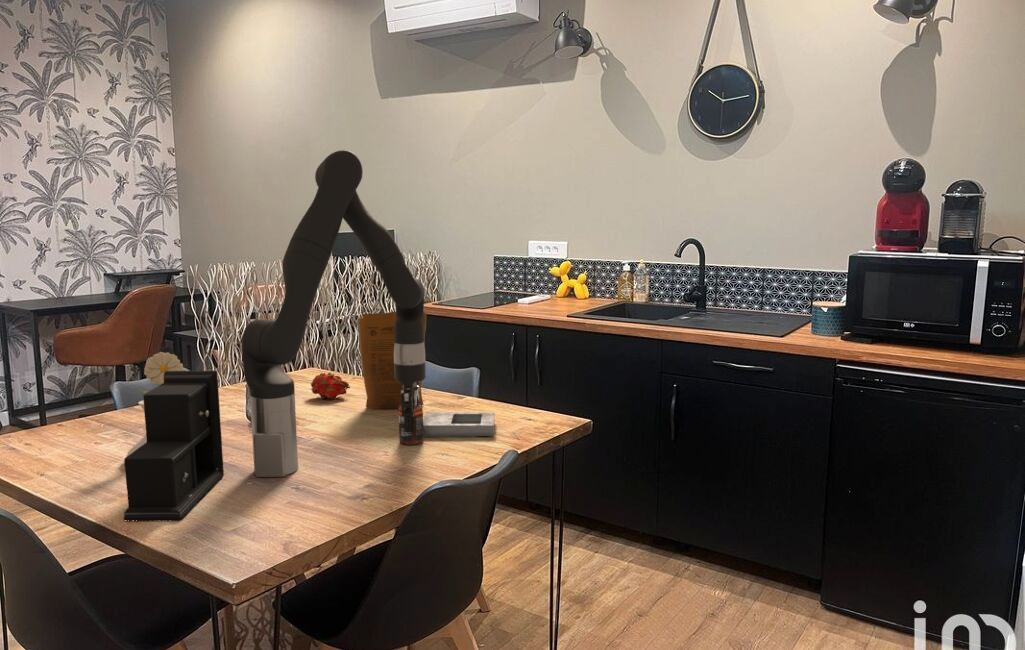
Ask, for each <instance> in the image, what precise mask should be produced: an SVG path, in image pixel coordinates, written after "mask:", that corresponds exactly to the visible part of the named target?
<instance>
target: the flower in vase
mask: <svg viewBox="0 0 1025 650" xmlns="http://www.w3.org/2000/svg"><path fill="white" fill-rule="evenodd" d="M183 369H184V365H183V363H181V360H180V359H178V356H177V355H176V354H174V353H172V354H171V353H170V352H162V351H159V352H158V353H155V354H153V356H150V357H148V358H147V360H146V363H145V366H144V369H143V370H144V372H143V374H144V375H145V376H146V379H148V380H149V382H150V384H151V383H152V384H154V385H157V386H159V385H161V384H163V383H164V373H165V371H183ZM137 390H138V391H139V392H142V393H143V394H146V393H147V392H149V391H147V390H142V389H141V388H139V387H137ZM138 405H139V406H140V407H141V408H142V411H144V399H143V400H140V401H138ZM146 442H147V437H146V434H144V436H142V438H140V440H139V441H138V442H136V443H135V444H134V445H133V446H132V447H131V448H130V449H129V450H128V452H127V453H126V457H127V456H129V455H130V454H131V453H133V452H134V451H135V450H137V449H138V448H139V447H141V446H142V445H144V444H145V443H146Z"/></svg>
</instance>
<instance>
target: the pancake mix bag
mask: <svg viewBox="0 0 1025 650" xmlns="http://www.w3.org/2000/svg"><path fill="white" fill-rule="evenodd" d="M395 321H396V311H391V312H390V311H389V312H383V313H381V312H378V313H377V312H376V313H362V317H358V318H357V331H358V347H359V348H358V349H359V350H358V351H359V354H360V363H361V367H362V368H361V369H362V373H363V374H362V375H363V381H364V383H363V384H364V388H365V393H366V403H365V407H366V408H368V409H371V408H373V409H372V410H377V409H379V410H395V408H399V407H400V406H401V405H402V401H401V389H403V386H404V383H403V382H398V381H396V380H395V378H394V345H395V337H394V326H395ZM423 327H424V347H425V345H426V338H425V337H426V330H427V312H425V311H423ZM419 404H420V405H421V406H422V405H423V406H424V400H423V396H422V381H420V382H419ZM423 406H422V407H423Z"/></svg>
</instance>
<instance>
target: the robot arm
mask: <svg viewBox="0 0 1025 650" xmlns="http://www.w3.org/2000/svg"><path fill="white" fill-rule="evenodd" d="M314 174H315V175H314V179H315V183H316V186H317V189H316V194H315V196H314V198H313V200H312V202H311V204H310V205H309V207H308V208H307V210H306V212H305V214H304V215H303V217H302V218H301V220H300V222H299V223H298V225H297V226H296V229H295V230H294V232H293V234H292V236H291V238H290V241H289V243H288V245H287V247H286V248H287V249H286V251H285V254H284V256H283V258H282V265H281V266H282V275H283V282H284V299H283V302H282V305H281V308H280V310H279V313H278V315H277V317H276V319H275V320H273V319H265V318H263V319H262V318H260V319H254V320H252V321H250V322H249V323H248V324H247V325H246V327H245V328H244V330H243V334H242V338H241V352H242V353H241V355H242V363H243V372H244V380H245V383H246V385H247V387H248V388H249V398H250V399H249V402H250V418H251V420H250V422H251V438H252V452H253V453H252V455H253V471H254V474H255V477H256V478H276V477H277V478H279V477H280V478H283V477H286V476H288V475H289V474H290V475H291V474H293V473H295V472H296V471H298V469H299V457H298V437H297V435H298V433H297V415H296V395H295V394H296V392H295V391H296V390H295V381H294V379H292V377H291V376H289V375H288V374H286V372H285V371H284V370H283V369H282V367H281V366H282V365H283V366H284V365H288V364H290V363H291V362H292V361H293V360H294V359H295V358H296V356H297V355H298V353H299V351H300V348H301V345H302V342H303V339H304V335H305V331H306V328H307V324H308V320H309V317H310V313H311V309H312V307H313V304H314V300H315V298H316V295H317V293H318V289H319V286H320V285H321V284H320V283H321V281H322V278H323V276H324V274H325V271H326V269H327V266H328V265H329V264H328V263H329V261H330V258H331V256H332V253H333V250H334V248H335V244H336V241H337V238H338V235H339V232H340V228H341V226H342V223H343V220H344V221H345V223H346V224H347V225H348V227H349V228H350V229H351V230H352V232H353V234H354V235H355V237H356V238H357V240H358V241H359V242H360V245H362V247H363V249H364V251H365V253H366V254H367V255H368V257H369V259H370V260H371V263H372V264H373V266H374V267H375V268H376V270H377V271H378V273H379V274H380V277H381V278H382V281H383V283H384V285H385V287H386V290H387V292H388V294H389V296H390V298H391V299H392V300H393V302H394V303H395V312H396V321H395V326H394V337H395V345H394V378H395V380H396V381H398V382H403V383H404V386H403V389H401V401H402V417H404V429H405V432H413V431H414V408H416V405H417V396H418V401H419V382H420V381H421V382H422V381H424V380H425V379H426V373H427V372H426V371H427V370H426V368H427V367H426V348H425V346H424V327H423V312H424V308H425V307H424V306H425V290H424V289H425V288H424V286H423V284H422V282H421V281H420V280H419V279H418V278H415V277H414V275H413V274H412V272H411V271H410V270H409V267H408V266H407V264H406V260H405V257H404V254H403V252H402V251H401V250H400V247H399V246H398V245H397V242H396V241H395V239H394V237H393V236H392V235H391V233H390V232H389V230H388V229H387V228H386V227H385V225H383V224H382V223H381V222H380V221H379V220H377V218H376V217H374V216H373V215H372V213H371V212H370V211H369V210H368V208H367V207H366V206H365V205H364V203H363V202H362V200H361V198H360V196H359V194H358V192H357V189H358V187H359V186H360V184H361V181H362V178H363V165H362V163H361V160H360V159H359V157H358V155H356V154H355V153H354V152H353V151H350V150H345V149H342V150H337V151H336V150H335V151H334V152H332V153H330V154H329V155H328V156H326V157H325V158H324V160H322V162H321V163H320V164H319V165H318V166H317V168H316V170H315V173H314ZM413 402H414V403H413ZM418 403H419V402H418ZM406 408H410V411H406Z"/></svg>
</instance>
